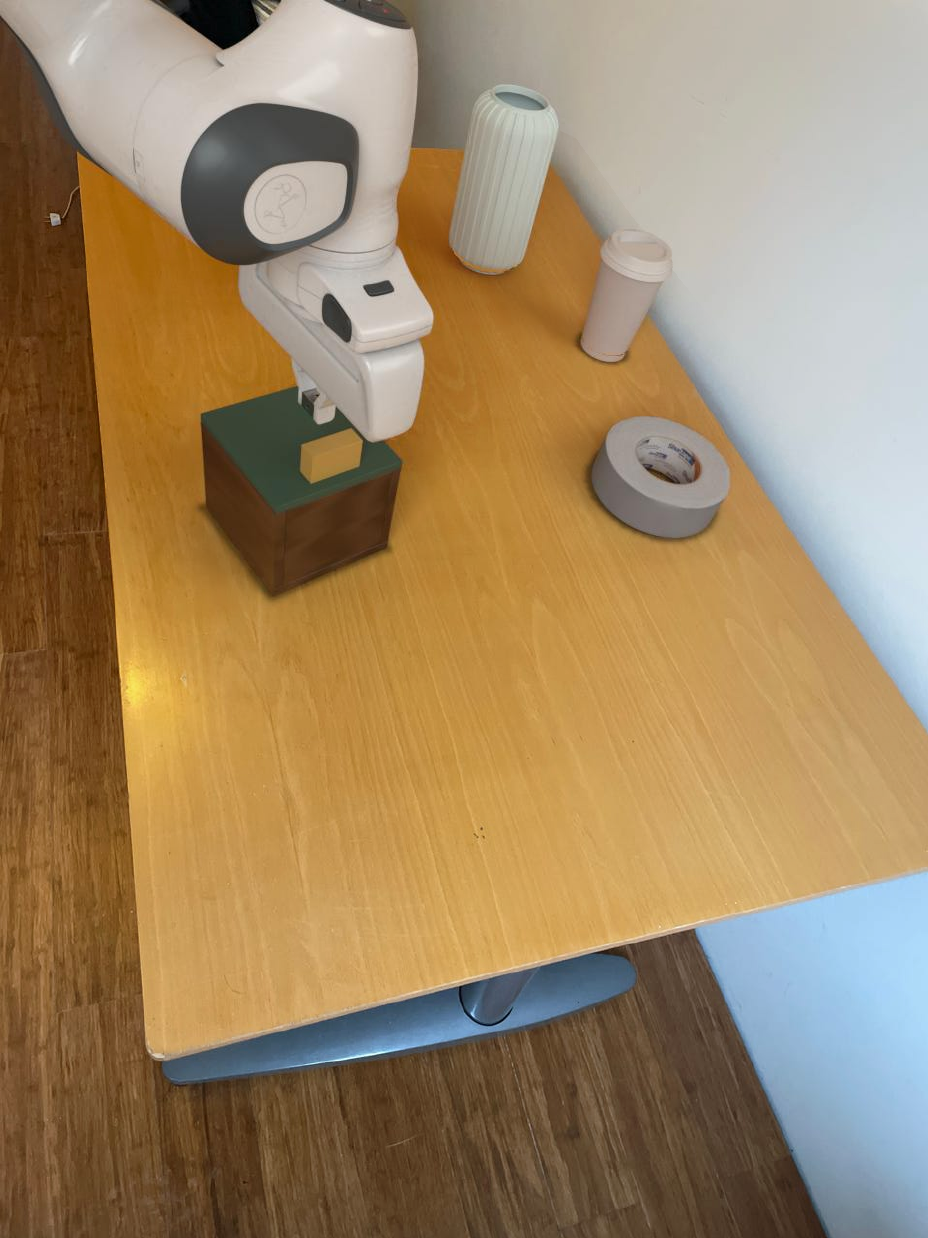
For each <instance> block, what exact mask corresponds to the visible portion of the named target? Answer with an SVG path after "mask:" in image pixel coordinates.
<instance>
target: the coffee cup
mask: <svg viewBox="0 0 928 1238" xmlns="http://www.w3.org/2000/svg"><path fill="white" fill-rule="evenodd" d="M599 255H600V257H601V259H600V263H599V267H598V271H597V274H596V278H595V283H594V286H593V291H592V294H591V298H590V302H589V306H588V310H587V314H586V317H585V321H584V325H583V330H582V332H581V333H582V334H581V337H580V347H581V349H582V350H583V351H584V352H585V353H586V354H587V355H588V356H590V357H592V358H593V359H596V360H598V361H601V362H607V363H616V362H620V361H621V360H622V359H624V358H625V356H626V354H627V352H628V350H629V348H630V346H631V344H632V342H633V340H634V339H635V336H636V334H637V333H638V330H639V328H640V327H641V325H642V323H643V321H644V319H645V317H646V315H647V313H648V311H649V310H650V307H651V306H652V304H653V302H654V301H655V298H656V296H657V295H658V292H659V291H660V288H661V287H662V285H663V283H664V281H665V280H667V279H669V278H670V277H671V276H672V273H673V272H672V271H673V259H672V258H673V257H672V255H673V252H672V249H671V247H670V246H669V245H668V244H667V243H666V242H665V241H664V240H663V239H662V238H660V237H659V236H656V235H655V234H652V233H650V232H648V231H645V230H641V229H637V228H628V227H627V228H620V229H617V230H615V231H614V232H613V233H612V234H611V236H609V237H608V238H607V239H606V240H605V241H604V242H603V243H602V245H601V247H600V248H599ZM582 338H583V339H582ZM583 340H584V342H585V343H584V342H583ZM590 348H591V349H592V350H591V349H590ZM593 350H594V351H593ZM626 351H627V352H626ZM597 352H598V353H597ZM625 352H626V353H625ZM599 353H600V354H599ZM624 353H625V354H624ZM602 354H606V355H621V354H623V355H621V356H606V355H602Z"/></svg>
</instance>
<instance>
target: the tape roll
mask: <svg viewBox="0 0 928 1238" xmlns="http://www.w3.org/2000/svg"><path fill="white" fill-rule="evenodd" d="M594 459H595V460H594V462H593V464H592V466H591V467H592V468H591V473H590V474H591V475H590V477H591V484H592V487H593V490H594V492H595V494H596V496H597V497H598V499H599V501H600V502H601V503H602V505H603V506H604V507H605V508H606V509H607V510H608V511H609V512H610V513H611V514H612V515H613V516H615V517H616V518H617V519H618V520H620V521H621V522H623V523H625V524H626V525H627V526H630V527H632V528H633V529H636V530H638V531H640V532H642V533H646V534H648V535H652V536H656V537H660V538H667V539H670V538H671V539H678V538H688V537H691V536H694V535H696V534H698V533H700V532H702V531H703V530H704V529H706V528H707V527H708V526H709V524H710V522H711V521H712V519H713V518H714V516H715V515H716V513H717V512H718V510H719V508H720V507H721V505H722V504H723V502H724V501H725V500H726V498H727V496H728V494H729V492H730V490H731V469H730V468H729V465H728V462H727V461H726V459H725V457H724V456H723V455H722V453H721V452H720V450H718V448H717V447H716V446H715V445H714V444H713V443H712V442H711V441H709V439H707V437H706V438H705V437H704V436H703V435H702V434H701V433H699V432H698V431H695V430H694V429H692V428H690V427H688V426H687V425H684V424H682V423H679V422H678V421H674V420H671V419H667V418H665V417H659V416H650V415H637V416H631V417H628V418H625V419H622V420H620V421H618V422H616V423H615V424H613V425H612V426H611V427H610V429H609V430H608V432H607V433H606V435H605V437H604V439H603V443H602V445H601V447H600V448H599V451H598V453H597V455H596V457H595V458H594ZM648 469H651V470H654V471H657V472H659V473H661V474H662V475H665V476H667V477H668V478H669V479H671V480H672V481H673V482H669V481H666V480H663V479H661V478H659V477H657V476H655V475H654V474H652V473H651V472H650V471H649V470H648Z"/></svg>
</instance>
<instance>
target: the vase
mask: <svg viewBox="0 0 928 1238" xmlns="http://www.w3.org/2000/svg"><path fill="white" fill-rule="evenodd" d="M559 125H560V123H559V119H558V115H557V112H556V111H555V109H554V107H553V106H552V105H551V104H550V101H549V100H548V99H547V97H545V96H544V95H543V94H541V93H539V92H537V91H536V90H533V89H532V88H528V87H525V86H522V85H517V84H509V83H503V84H497V85H495V86H492V87H491V88H489V89H488V90H485V91H484V92H482V93H481V94H480V95H479V97H478V98H477V99H476V101H475V103H474V104H473V108H472V112H471V117H470V122H469V127H468V133H467V139H466V144H465V148H464V155H463V158H462V163H461V164H462V165H461V168H460V169H461V170H460V175H459V180H458V185H457V191H456V195H455V196H456V197H455V201H454V207H453V211H452V217H451V222H450V227H449V233H448V243H449V246H450V245H451V246H452V249H451V251H452V250H453V251H455V252H456V253H457V255H458V256H459V257H461V258H462V259H464V261H465V262H469V263H471V264H472V265H473V266H479V267H481V268H483V269H485V268H487V269H491V270H500V271H501V270H504V269H511V268H512V267H515V268H517V267H518V266H519V265H520V264H521V262H523V260H524V257H525V255H526V253H527V249H528V245H529V241H530V238H531V233H532V231H533V226H534V222H535V219H536V215H537V211H538V207H539V204H540V200H541V197H542V193H543V189H544V186H545V182H546V179H547V175H548V171H549V167H550V163H551V160H552V157H553V152H554V149H555V145H556V141H557V137H558V134H559V128H560V126H559ZM453 251H452V252H453ZM459 262H460V263H461V264H462V265H463V266H465V267H466V268H467V269H469V270H471V271H473V272H476V273H479V274H481V275H488V276H489V275H492V276H493V275H501V274H504V273H505V272H504V271H502V272H501V273H497V272H493V273H490V272H488V271H481V270H479V269H474V268H472V267H470V266H469V265H468V266H467V265H466V264H465V263H464V262H463V261H460V260H459ZM518 264H519V265H518ZM469 267H470V268H469ZM510 271H511V270H509V271H508V272H510Z"/></svg>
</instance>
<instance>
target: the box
mask: <svg viewBox="0 0 928 1238" xmlns="http://www.w3.org/2000/svg"><path fill="white" fill-rule="evenodd" d="M200 432H201V433H200V434H201V449H202V463H203V476H204V477H203V479H204V493H205V508H206V509H207V511H208V512H209V513H210V515H211V516H212V518H213V519H214V520H215V521H216V523H217V524H218V526H220V528H221V529H222V530H223V532H224V533H225V535H226V536H227V537H228V538H229V540H230V541H231V542H232V544H233V545H234V546H235V548H236V549H237V550H238V552H239V553H240V555H241V556H242V557H243V559H244V560H245V561H246V562H247V564H248V566H249V567H251V569H252V570H253V572H254V573H255V574H256V575H257V577H258V579H260V581H261V582H262V583H263V585H264V586H265V587H266V589H267V590H268V591H269V593H270V594H271V595H272V597H275V596H278V595H280V594H283V593H285V592H287V591H290V590H293V589H295V588H296V587H299V586H302V585H304V584H306V583H308V582H311V581H313V580H316V579H317V578H320V577H323V576H325V575H327V574H329V573H332V572H333V571H337V570H338V569H341V568H343V567H346V566H348V565H350V564H353V563H355V562H357V561H359V560H361V559H365V558H366V557H368V556H371V555H374V554H377V553H378V552H380V551H383V550H385V549H387V546H388V541H389V535H390V530H391V525H392V520H393V515H394V514H393V513H394V509H395V503H396V498H397V493H398V489H399V488H398V487H399V482H400V477H401V471H402V467H401V468H398V469H396V470H393V471H390V472H388V473H385V474H382V475H380V476H377V477H374V478H372V479H369V480H366V481H364V482H361V483H358V484H355V485H353V486H350V487H347V488H345V489H342V490H339V491H337V492H334V493H331V494H329V495H326V496H323V497H321V498H318V499H315V500H313V501H310V502H307V503H305V504H302V505H299V506H297V507H294V508H291V509H289V510H286V511H283V512H281V513H278V514H276V513H275V512H274V511H273V510H272V508H271V507H270V506H269V505H268V503H267V502H266V501H265V500H264V498H263V497H262V496H261V495H260V493H259V492H258V491H257V490H256V488H255V487H254V486H253V485H252V483H251V482H250V481H249V480H248V478H247V477H246V476H245V475H244V474H243V472H242V471H241V470H240V469H239V467H238V466H237V465H236V464H235V462H234V461H233V460H232V459H231V457H230V456H229V455H228V454H227V452H226V451H225V450H224V449H223V447H222V446H221V445H220V444H219V442H218V441H217V440H216V439H215V437H214V436H213V435H212V434H211V432H210V431H209V430H208V429H207V427H206V426H205V425H204V424H203V423H202V421H201V420H200Z"/></svg>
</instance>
